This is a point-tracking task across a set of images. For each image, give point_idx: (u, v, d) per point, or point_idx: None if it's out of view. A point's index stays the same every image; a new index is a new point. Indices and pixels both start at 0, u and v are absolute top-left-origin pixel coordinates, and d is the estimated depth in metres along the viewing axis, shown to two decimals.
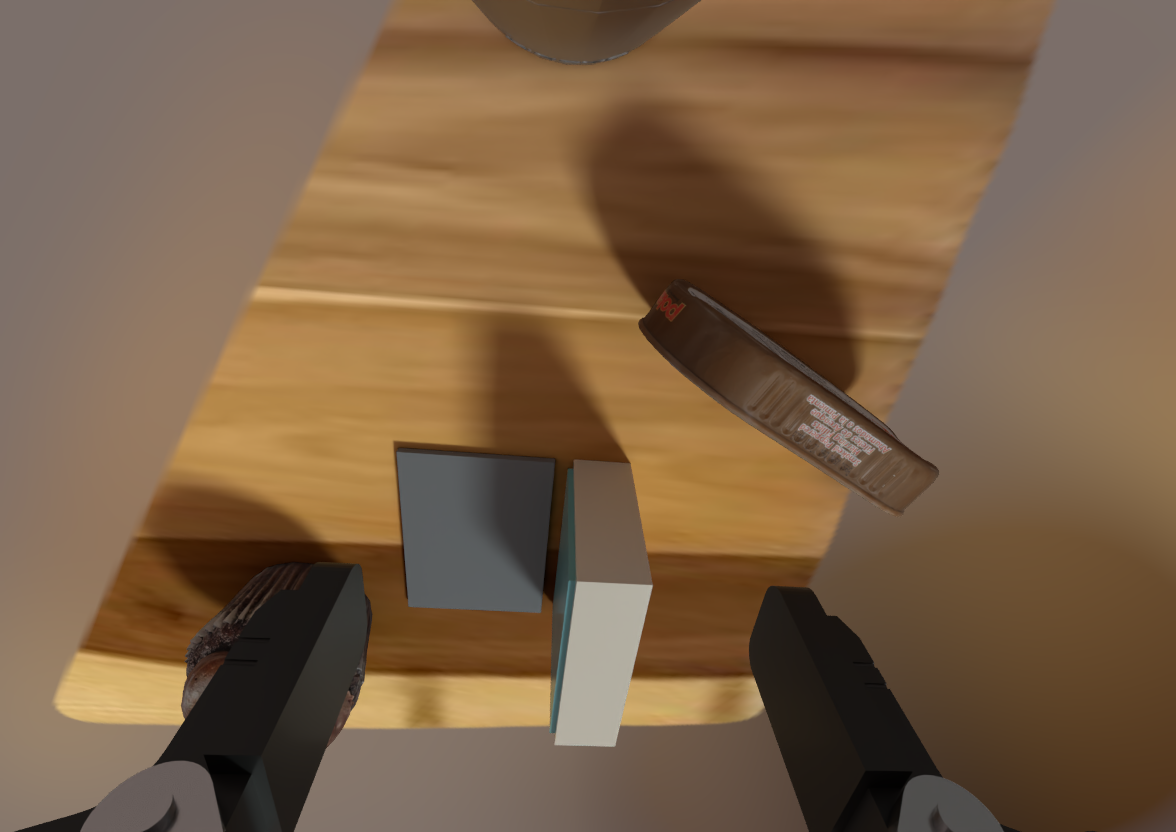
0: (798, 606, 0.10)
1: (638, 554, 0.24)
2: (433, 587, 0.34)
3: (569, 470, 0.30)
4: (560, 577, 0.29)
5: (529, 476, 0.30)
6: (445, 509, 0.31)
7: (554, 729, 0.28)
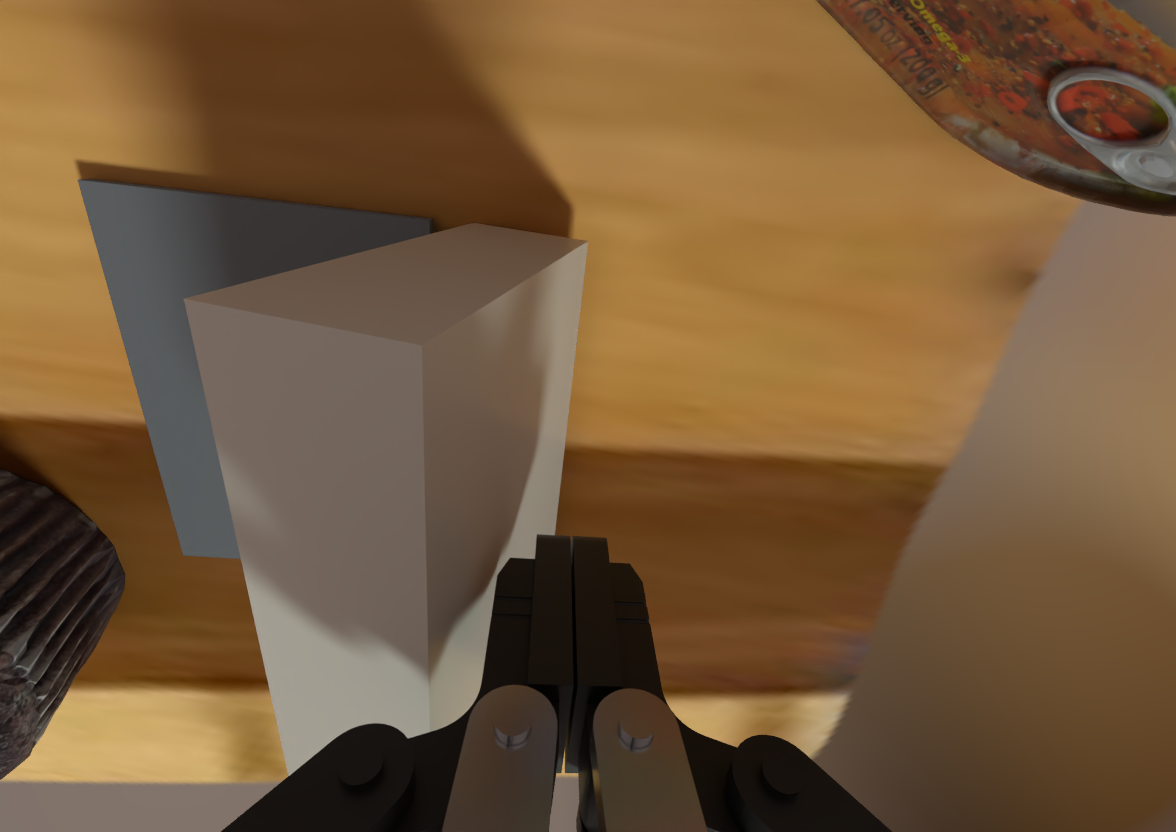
0: (585, 552, 0.11)
1: (455, 303, 0.08)
2: (223, 514, 0.18)
3: None
4: None
5: None
6: None
7: None
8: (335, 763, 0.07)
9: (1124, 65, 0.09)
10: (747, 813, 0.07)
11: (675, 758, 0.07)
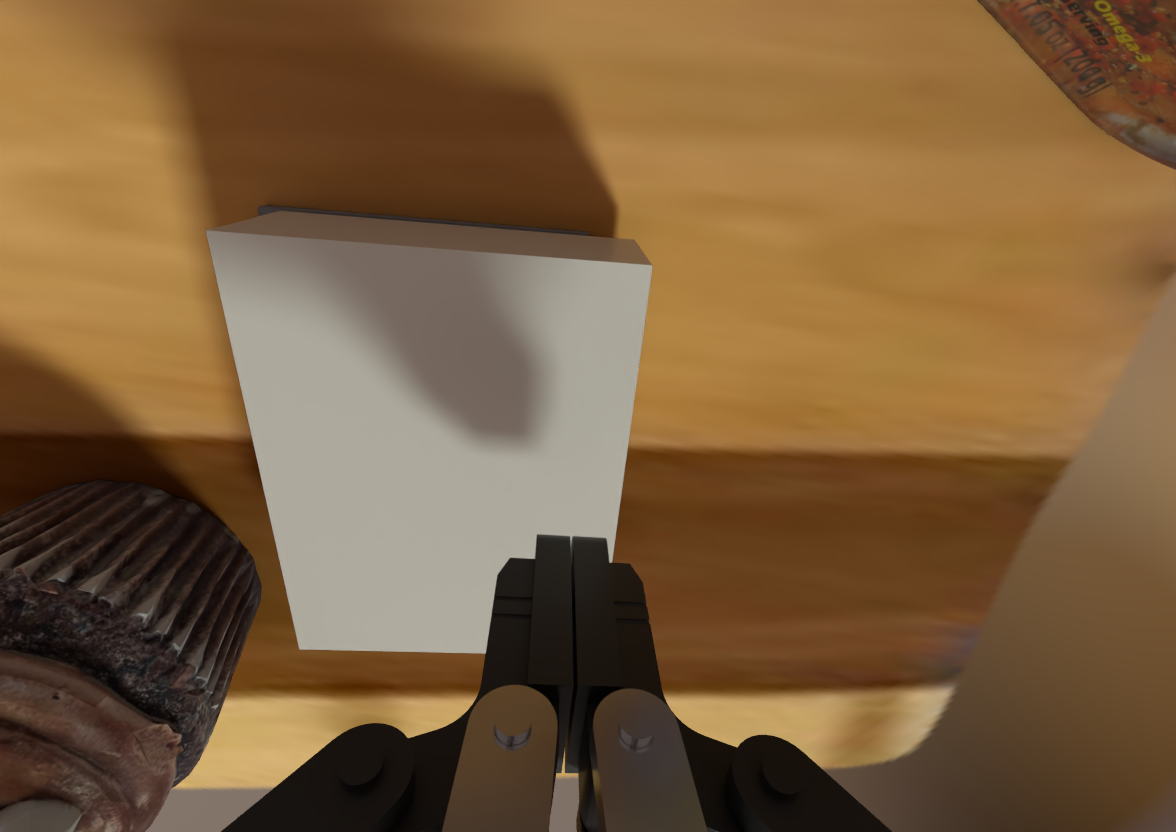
0: (585, 552, 0.11)
1: (304, 234, 0.11)
2: None
3: None
4: None
5: None
6: None
7: None
8: (335, 763, 0.07)
9: None
10: (747, 813, 0.07)
11: (675, 758, 0.07)
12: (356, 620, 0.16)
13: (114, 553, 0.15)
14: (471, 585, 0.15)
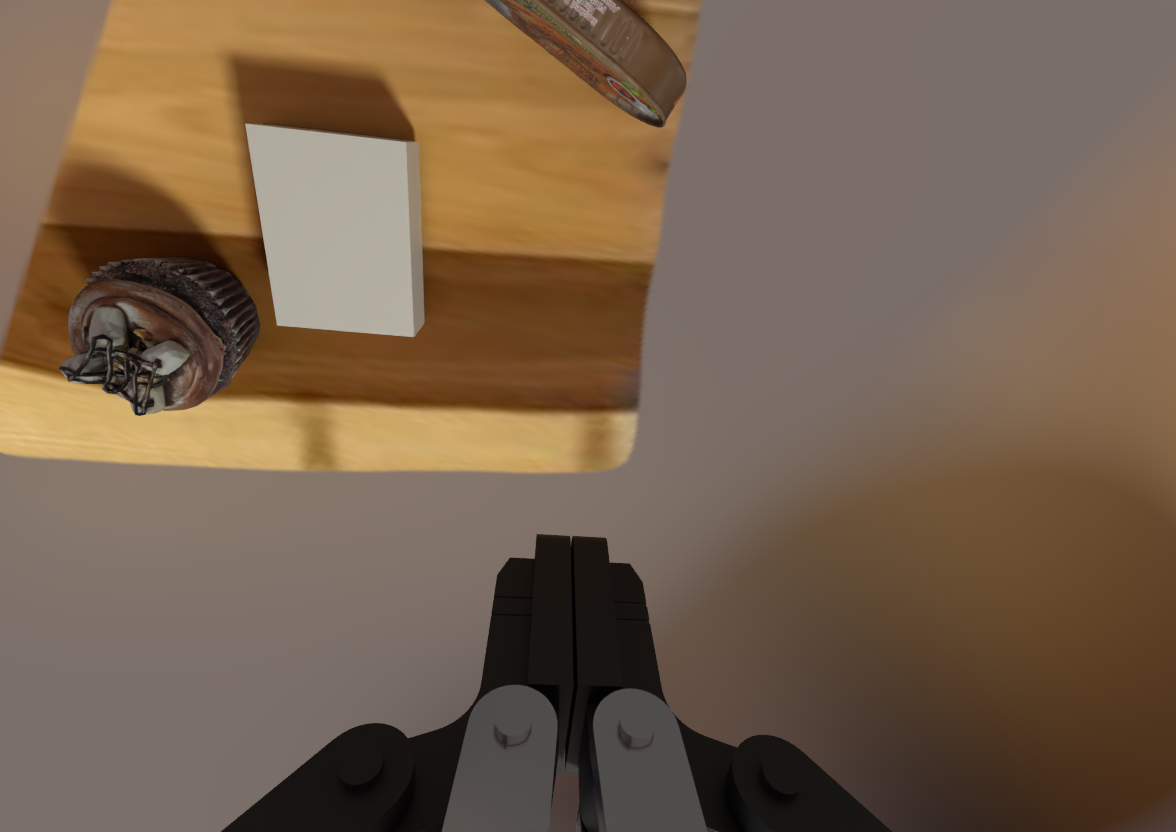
0: (585, 552, 0.11)
1: (280, 127, 0.32)
2: None
3: None
4: None
5: None
6: None
7: None
8: (335, 763, 0.07)
9: (610, 75, 0.30)
10: (747, 813, 0.07)
11: (675, 758, 0.07)
12: (302, 309, 0.36)
13: (197, 274, 0.36)
14: (352, 291, 0.36)
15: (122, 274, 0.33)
